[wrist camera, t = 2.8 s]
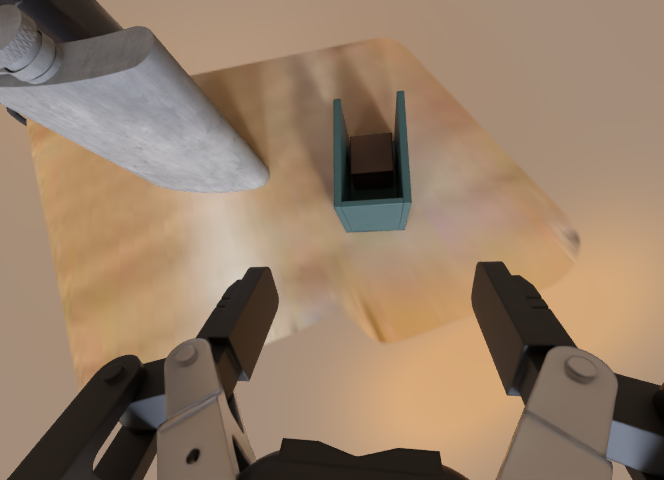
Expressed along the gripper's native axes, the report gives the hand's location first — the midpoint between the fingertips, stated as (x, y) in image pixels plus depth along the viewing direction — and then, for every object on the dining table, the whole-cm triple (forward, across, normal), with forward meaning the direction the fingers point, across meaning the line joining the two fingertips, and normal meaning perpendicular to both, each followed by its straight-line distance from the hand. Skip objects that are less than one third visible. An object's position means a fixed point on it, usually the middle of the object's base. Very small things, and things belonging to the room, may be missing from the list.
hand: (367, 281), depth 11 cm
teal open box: (+21, 0, +4) cm, 21 cm away
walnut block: (+21, 0, +3) cm, 22 cm away
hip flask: (+23, +20, +2) cm, 30 cm away
